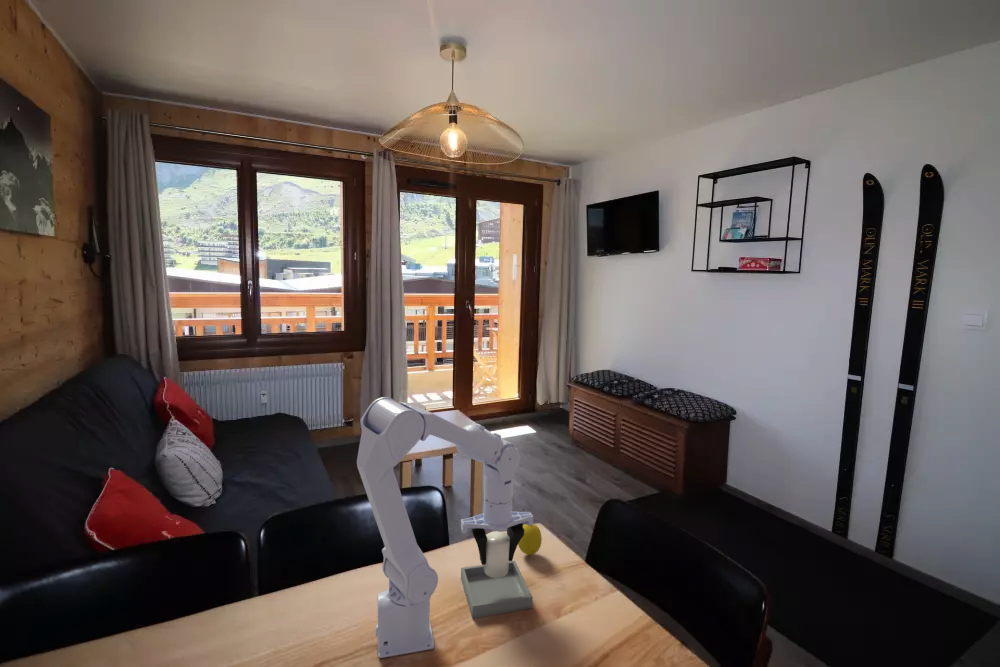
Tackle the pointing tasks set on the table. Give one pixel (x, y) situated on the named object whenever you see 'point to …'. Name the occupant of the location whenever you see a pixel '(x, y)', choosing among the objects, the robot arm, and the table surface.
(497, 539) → the capsule
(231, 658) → the table surface
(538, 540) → the lemon
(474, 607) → the tray
